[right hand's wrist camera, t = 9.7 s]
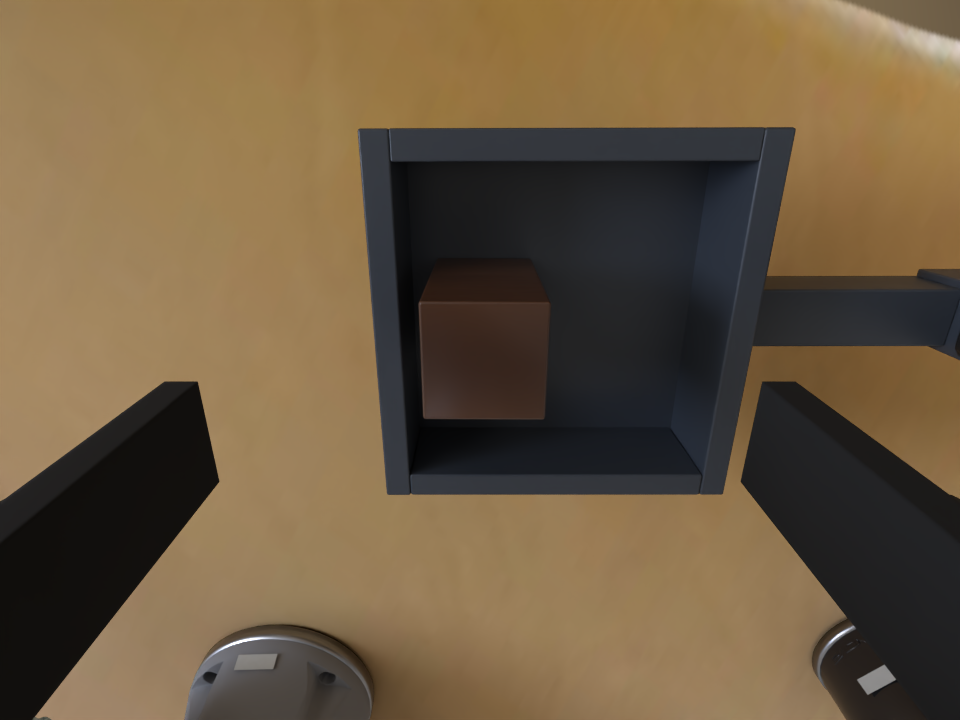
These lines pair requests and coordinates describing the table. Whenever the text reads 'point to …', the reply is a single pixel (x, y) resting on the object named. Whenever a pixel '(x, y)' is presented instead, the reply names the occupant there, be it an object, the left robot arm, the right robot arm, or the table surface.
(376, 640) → the table surface
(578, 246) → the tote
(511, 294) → the walnut block
